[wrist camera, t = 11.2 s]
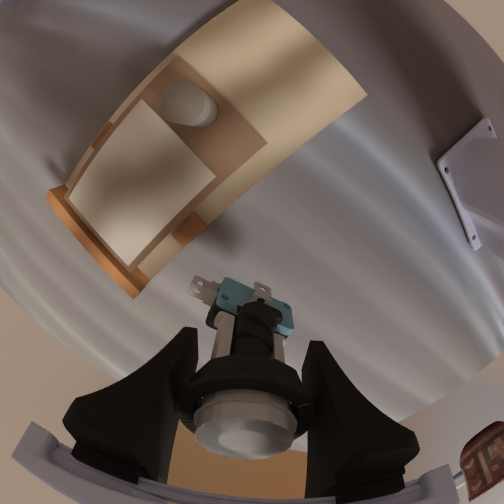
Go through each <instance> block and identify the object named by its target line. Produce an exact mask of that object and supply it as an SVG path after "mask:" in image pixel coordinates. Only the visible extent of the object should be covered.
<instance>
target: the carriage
mask: <svg viewBox="0 0 504 504" xmlns="http://www.w3.org/2000/svg"><path fill="white" fill-rule="evenodd" d="M266 144H267V142H266V141H265V140H264V139H263V137H262V136H261V135H260V134H259V133H258V132H257V131H256V130H255V129H254V128H253V127H252V126H251V125H250V124H249V122H248V121H247V120H246V119H245V118H244V117H243V116H242V115H241V114H240V113H239V112H238V111H237V110H236V109H235V108H234V107H233V106H232V105H231V104H230V103H229V102H228V101H227V100H226V99H225V98H224V97H223V96H222V95H221V94H220V93H219V92H218V91H217V90H216V89H215V88H214V87H213V86H212V85H211V84H210V83H209V82H208V81H206V80H205V79H204V78H203V77H202V76H201V75H200V74H199V73H198V72H197V71H196V70H195V69H194V68H192V67H191V66H190V65H189V64H188V63H187V62H186V61H185V60H184V59H182V58H181V57H180V56H179V55H178V56H177V57H176V58H174V59H173V60H172V61H171V62H170V63H169V64H168V65H167V66H166V67H165V68H164V69H163V70H162V71H161V72H160V73H159V74H158V75H157V76H156V77H155V78H154V79H153V80H152V81H151V82H150V83H149V84H148V85H147V86H146V87H145V88H144V89H143V90H142V91H141V92H140V94H139V95H138V96H137V97H136V98H135V99H134V100H133V101H132V102H131V104H130V105H129V106H128V107H127V108H126V109H125V111H124V112H123V113H122V114H121V115H120V117H119V118H118V119H117V120H116V121H115V123H114V124H113V125H112V127H111V128H110V129H109V130H108V132H107V133H106V134H105V136H104V137H103V138H102V140H101V141H100V142H99V144H98V145H97V147H96V148H95V149H94V151H93V152H92V154H91V155H90V156H89V158H88V159H87V161H86V162H85V164H84V165H83V167H82V168H81V170H80V172H79V173H78V175H77V176H76V178H75V179H74V181H73V183H72V184H71V186H70V188H69V189H68V191H67V193H66V195H65V196H64V199H65V200H66V201H67V202H68V204H69V205H70V206H71V207H72V209H73V210H74V211H75V212H76V214H77V215H78V216H79V217H80V218H81V220H82V221H83V222H84V223H85V224H86V226H87V227H88V228H89V229H90V230H91V231H92V232H93V234H94V235H95V236H96V237H97V238H98V239H99V240H100V242H101V243H102V244H103V245H104V246H105V247H106V248H107V249H108V250H109V251H110V253H111V254H112V255H113V256H114V257H115V258H116V259H117V260H118V261H119V262H120V263H121V264H122V265H123V266H124V267H125V268H126V270H127V271H128V272H129V273H130V274H131V273H132V272H133V271H134V269H135V268H136V267H137V266H138V265H139V264H140V263H141V262H142V261H143V260H144V259H145V258H146V257H147V256H148V255H149V254H150V253H151V252H152V250H153V249H154V248H155V247H156V246H157V245H158V244H159V243H160V242H161V241H162V240H163V239H164V238H165V237H166V236H167V235H168V234H169V233H170V232H171V231H172V230H173V229H174V228H175V227H176V226H177V225H178V224H179V223H180V222H181V221H182V220H183V219H184V218H185V217H186V216H187V215H188V214H189V213H190V212H191V211H192V210H193V209H195V208H196V207H197V206H198V205H199V204H200V203H201V202H202V201H203V200H204V199H205V198H206V197H207V196H208V195H209V194H210V193H211V192H213V191H214V190H215V189H216V188H217V187H218V186H219V185H220V184H221V183H222V182H223V181H225V180H226V179H227V178H228V177H229V176H230V175H231V174H232V173H233V172H235V171H236V170H237V169H238V168H239V167H240V166H241V165H243V164H244V163H245V162H246V161H247V160H248V159H249V158H251V157H252V156H253V155H254V154H255V153H256V152H258V151H259V150H260V149H261V148H262V147H264V146H265V145H266Z"/></svg>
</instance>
